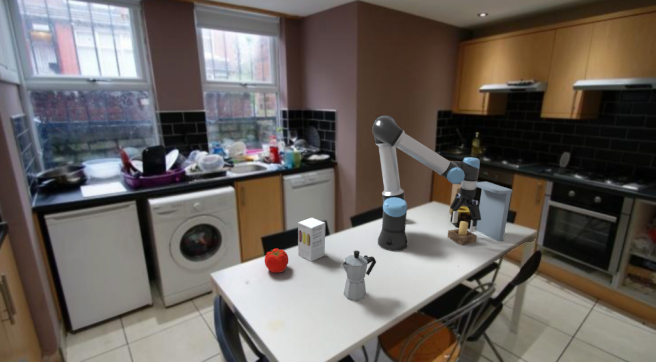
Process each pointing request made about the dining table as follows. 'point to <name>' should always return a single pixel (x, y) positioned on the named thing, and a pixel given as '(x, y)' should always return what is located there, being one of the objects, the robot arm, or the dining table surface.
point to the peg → (463, 228)
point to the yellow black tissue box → (462, 216)
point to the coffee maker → (356, 275)
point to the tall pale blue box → (493, 210)
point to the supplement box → (311, 239)
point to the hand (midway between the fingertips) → (463, 226)
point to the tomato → (276, 260)
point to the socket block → (462, 237)
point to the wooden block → (455, 191)
